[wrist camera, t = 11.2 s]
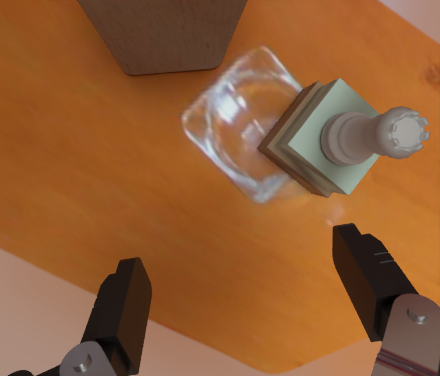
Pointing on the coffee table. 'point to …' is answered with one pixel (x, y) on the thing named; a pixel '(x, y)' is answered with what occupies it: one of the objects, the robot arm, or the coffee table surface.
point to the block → (165, 32)
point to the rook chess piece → (373, 135)
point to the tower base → (316, 139)
